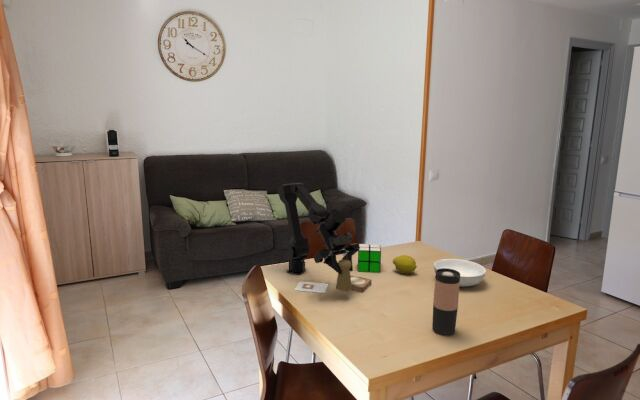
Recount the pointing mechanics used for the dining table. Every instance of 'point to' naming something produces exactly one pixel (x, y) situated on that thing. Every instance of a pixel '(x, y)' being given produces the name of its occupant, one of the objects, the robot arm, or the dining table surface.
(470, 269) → the serving bowl
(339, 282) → the cork
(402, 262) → the lemon
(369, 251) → the puzzle cube
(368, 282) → the plinth
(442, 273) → the travel mug
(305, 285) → the white flat piece
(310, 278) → the dining table surface
